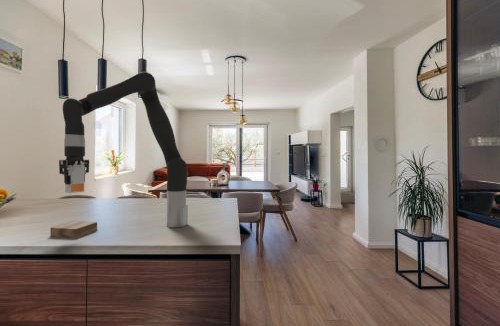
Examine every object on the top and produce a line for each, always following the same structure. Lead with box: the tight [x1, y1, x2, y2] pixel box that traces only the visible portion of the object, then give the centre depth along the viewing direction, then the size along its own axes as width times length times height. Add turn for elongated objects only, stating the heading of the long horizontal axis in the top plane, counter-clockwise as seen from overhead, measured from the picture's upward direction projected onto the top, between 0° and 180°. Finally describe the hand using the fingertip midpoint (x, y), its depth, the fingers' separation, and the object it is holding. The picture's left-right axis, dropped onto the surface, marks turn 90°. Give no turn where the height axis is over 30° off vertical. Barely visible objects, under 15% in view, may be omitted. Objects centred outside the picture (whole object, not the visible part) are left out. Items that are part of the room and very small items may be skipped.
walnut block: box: [50, 220, 98, 239], centre depth 114 cm, size 12×12×4 cm
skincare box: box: [64, 165, 85, 194], centre depth 114 cm, size 6×4×12 cm
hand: (75, 183), depth 114 cm, fingers closed on skincare box, 7 cm apart
